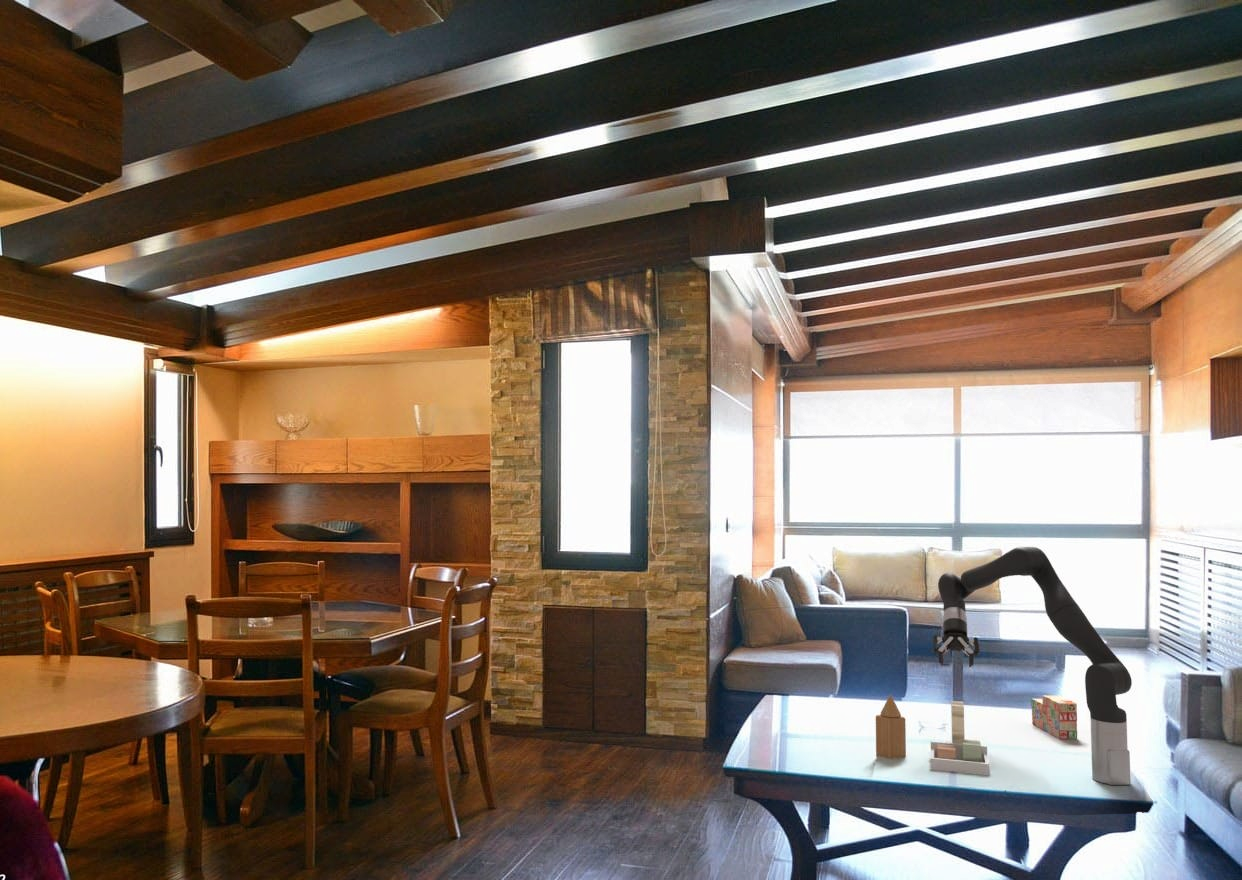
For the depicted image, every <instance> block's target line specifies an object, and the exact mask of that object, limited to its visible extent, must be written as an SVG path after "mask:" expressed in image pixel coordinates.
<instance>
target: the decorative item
mask: <svg viewBox="0 0 1242 880" xmlns="http://www.w3.org/2000/svg"><path fill="white" fill-rule="evenodd" d="M906 732H907V731H906V718H905V717H904V716H902V714H901V712H900V710H899V708H898V706H897V704H896V701H895V700H894V698H893V696H892V694H891V693H890V694H889V695H888V697H887V700H886V702H885V703H884V706H883V707H882V709H881V711H880V714H877V715H875V757H876V758H878V755H879V756H881V757H884V758H887V759H891V760H892V759H898V758H905V757H906V756H907V748H906V747H907V743H906V742H907V741H906V737H907V735H906V734H907V733H906Z"/></svg>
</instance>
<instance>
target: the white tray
mask: <svg viewBox="0 0 1242 880" xmlns="http://www.w3.org/2000/svg"><path fill="white" fill-rule="evenodd" d="M938 744H942V745H953V746H955V750H956V760H950V759H940V758H938ZM929 759H930V770H937V771H944V772H945V771H947V772H955V773H963V774H964V773H965V774H966V773H967V774H976V775H986V776H990V775H991V774H990V761H989V760H990V759H989V756H988V746H987V745H981V762H971V761H963V757H962V744H957V743H952V742H951V739H950V738H947V739H946V741H945V742H944V741H936V740H935V741H934V740H933V741H932V740H930V757H929Z"/></svg>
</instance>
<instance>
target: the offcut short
mask: <svg viewBox="0 0 1242 880" xmlns="http://www.w3.org/2000/svg"><path fill="white" fill-rule="evenodd" d="M938 758H940V759H950V760H956V750H955V746H953V745H942V744H938Z"/></svg>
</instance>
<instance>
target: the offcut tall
mask: <svg viewBox="0 0 1242 880" xmlns="http://www.w3.org/2000/svg"><path fill="white" fill-rule="evenodd" d="M981 746H982V744H981V740H977V739H962V757H963V761H971V762H981Z"/></svg>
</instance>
